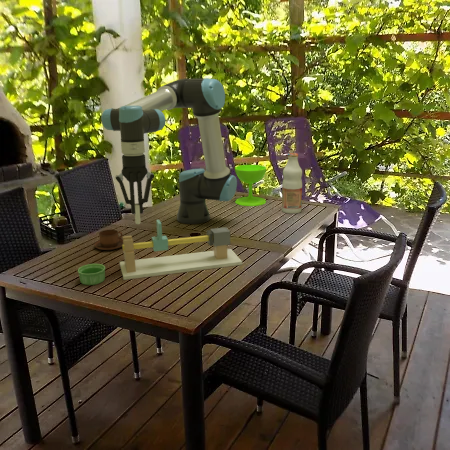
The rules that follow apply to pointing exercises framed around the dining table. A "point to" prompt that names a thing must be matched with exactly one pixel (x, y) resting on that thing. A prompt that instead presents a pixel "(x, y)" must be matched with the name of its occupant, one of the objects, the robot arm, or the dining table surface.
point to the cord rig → (179, 256)
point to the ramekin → (92, 274)
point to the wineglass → (250, 183)
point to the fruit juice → (292, 186)
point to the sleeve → (160, 239)
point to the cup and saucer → (109, 240)
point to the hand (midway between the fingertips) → (137, 222)
